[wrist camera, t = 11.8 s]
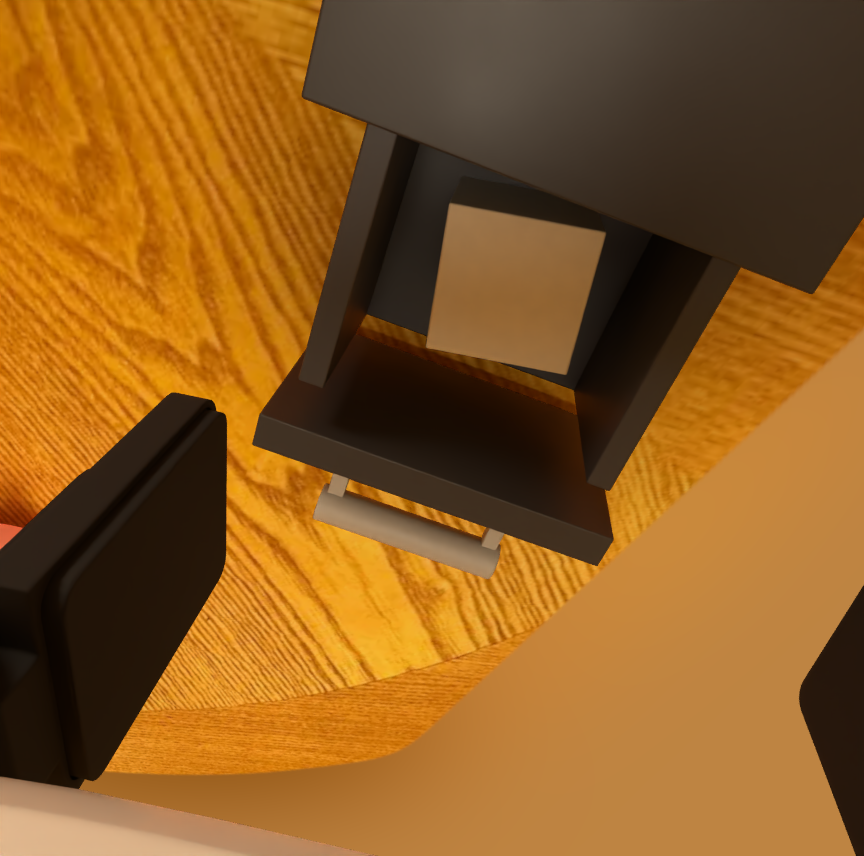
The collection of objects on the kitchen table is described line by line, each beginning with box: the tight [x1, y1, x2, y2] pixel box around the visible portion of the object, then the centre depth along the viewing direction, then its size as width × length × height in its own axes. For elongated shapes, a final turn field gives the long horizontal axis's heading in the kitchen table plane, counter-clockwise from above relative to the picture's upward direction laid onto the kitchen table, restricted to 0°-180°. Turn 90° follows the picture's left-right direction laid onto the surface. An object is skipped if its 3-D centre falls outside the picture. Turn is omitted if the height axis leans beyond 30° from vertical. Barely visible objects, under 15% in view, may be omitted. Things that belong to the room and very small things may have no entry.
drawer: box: [253, 123, 741, 579], centre depth 23 cm, size 18×12×8 cm, turn 161°
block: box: [426, 176, 606, 375], centre depth 23 cm, size 4×4×4 cm
